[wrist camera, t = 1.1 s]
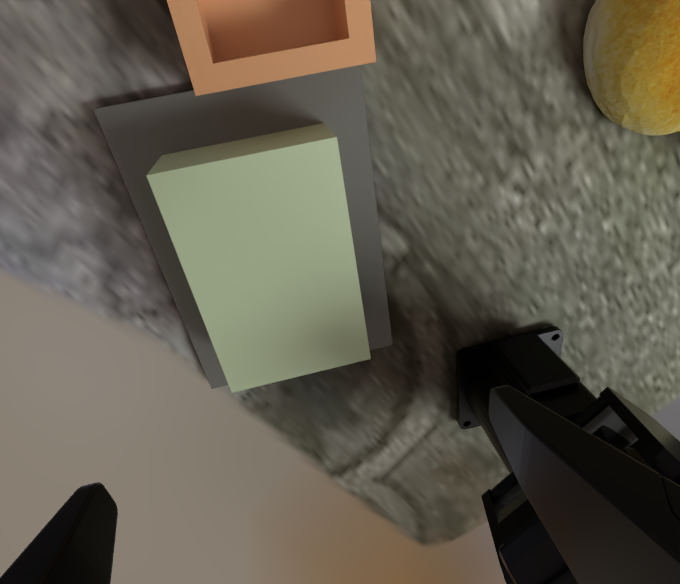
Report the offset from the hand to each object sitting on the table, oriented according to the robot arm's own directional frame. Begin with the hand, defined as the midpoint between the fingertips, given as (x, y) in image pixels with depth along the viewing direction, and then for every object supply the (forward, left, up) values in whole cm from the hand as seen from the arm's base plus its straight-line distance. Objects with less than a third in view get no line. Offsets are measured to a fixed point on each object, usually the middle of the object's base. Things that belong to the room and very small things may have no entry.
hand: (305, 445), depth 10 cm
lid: (0, 0, -11) cm, 11 cm away
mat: (0, 0, -12) cm, 12 cm away
